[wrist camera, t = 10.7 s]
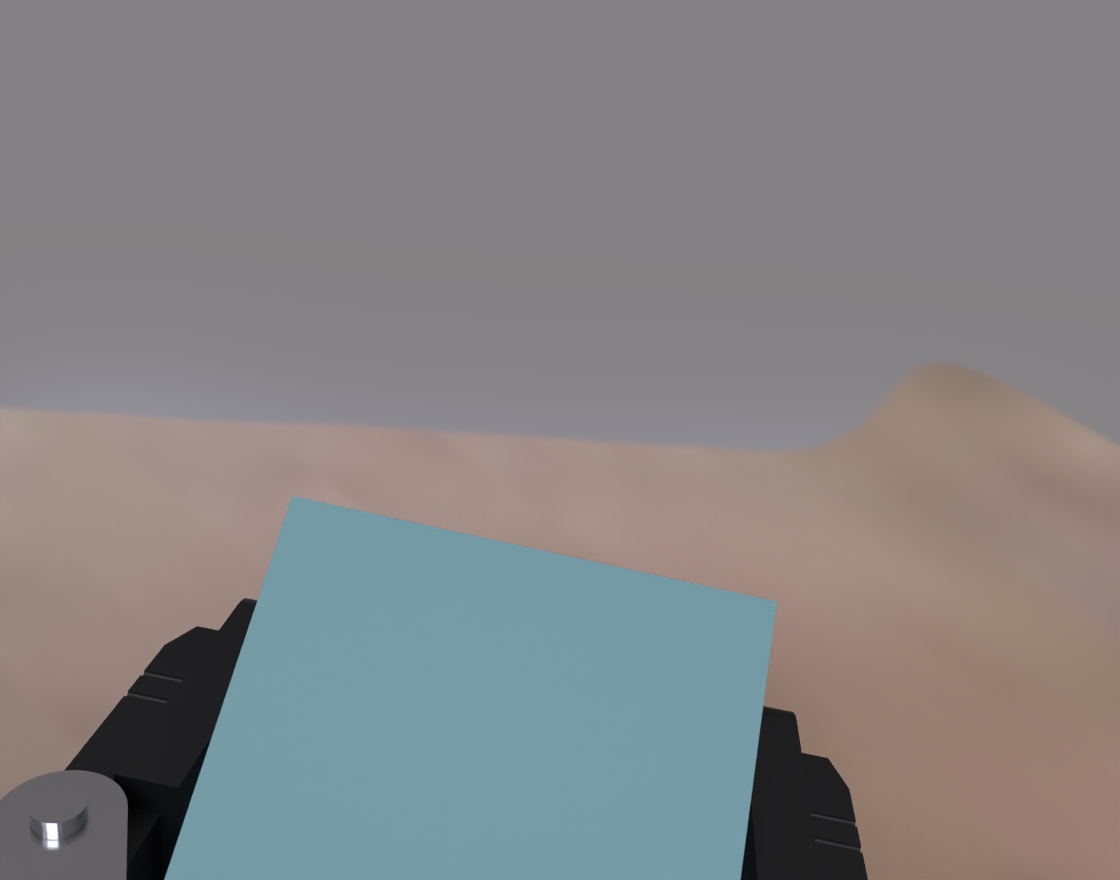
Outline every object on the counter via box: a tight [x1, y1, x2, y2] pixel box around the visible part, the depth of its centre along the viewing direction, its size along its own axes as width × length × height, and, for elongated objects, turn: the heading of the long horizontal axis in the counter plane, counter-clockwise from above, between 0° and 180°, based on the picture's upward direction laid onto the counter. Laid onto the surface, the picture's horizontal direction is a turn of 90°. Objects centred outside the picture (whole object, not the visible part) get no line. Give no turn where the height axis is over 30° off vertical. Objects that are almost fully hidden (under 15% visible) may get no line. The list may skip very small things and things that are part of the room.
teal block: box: [164, 496, 777, 880], centre depth 14 cm, size 5×5×11 cm
